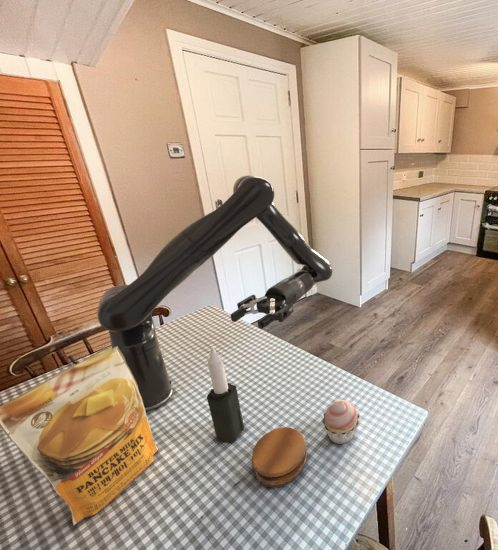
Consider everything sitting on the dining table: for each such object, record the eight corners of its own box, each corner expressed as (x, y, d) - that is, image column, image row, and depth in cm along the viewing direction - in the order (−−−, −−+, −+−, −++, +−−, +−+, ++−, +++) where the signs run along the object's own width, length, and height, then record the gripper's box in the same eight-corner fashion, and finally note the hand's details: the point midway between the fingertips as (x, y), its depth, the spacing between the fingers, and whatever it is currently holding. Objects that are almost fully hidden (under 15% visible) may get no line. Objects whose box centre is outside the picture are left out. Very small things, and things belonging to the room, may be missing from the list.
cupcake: (368, 434, 74) (369, 402, 70) (337, 458, 68) (336, 424, 64) (345, 411, 80) (344, 381, 76) (315, 431, 74) (312, 399, 71)
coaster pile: (243, 485, 62) (240, 470, 60) (266, 437, 73) (264, 423, 71) (298, 491, 61) (296, 477, 59) (313, 442, 72) (312, 428, 70)
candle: (233, 443, 71) (214, 355, 62) (214, 439, 72) (192, 352, 63) (245, 425, 76) (229, 341, 66) (227, 422, 77) (209, 338, 67)
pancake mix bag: (49, 524, 55) (-22, 407, 45) (150, 439, 72) (114, 339, 62) (72, 539, 53) (3, 419, 43) (171, 448, 70) (138, 345, 60)
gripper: (264, 277, 88) (220, 303, 74) (305, 285, 83) (266, 314, 69) (268, 300, 91) (226, 329, 77) (308, 308, 86) (271, 341, 72)
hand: (245, 322), depth 73 cm, fingers open, 8 cm apart
